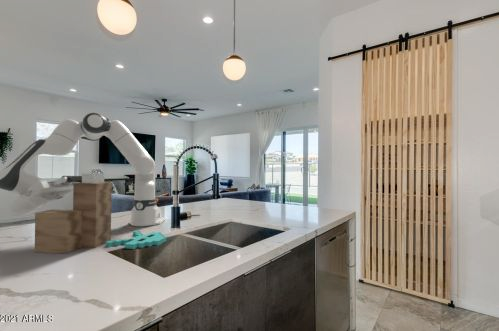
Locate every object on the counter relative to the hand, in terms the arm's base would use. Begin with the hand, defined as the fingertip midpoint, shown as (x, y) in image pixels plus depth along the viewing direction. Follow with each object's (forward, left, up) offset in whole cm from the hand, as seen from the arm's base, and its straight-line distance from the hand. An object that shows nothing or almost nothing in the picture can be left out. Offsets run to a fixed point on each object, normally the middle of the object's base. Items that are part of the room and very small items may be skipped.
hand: (70, 178), depth 112 cm
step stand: (+4, +6, -28) cm, 29 cm away
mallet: (0, +5, -2) cm, 5 cm away
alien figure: (-6, +30, -29) cm, 42 cm away
